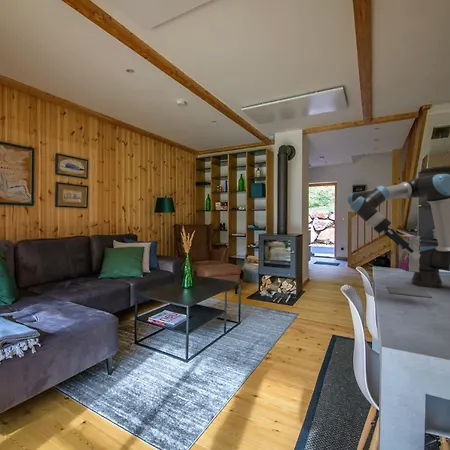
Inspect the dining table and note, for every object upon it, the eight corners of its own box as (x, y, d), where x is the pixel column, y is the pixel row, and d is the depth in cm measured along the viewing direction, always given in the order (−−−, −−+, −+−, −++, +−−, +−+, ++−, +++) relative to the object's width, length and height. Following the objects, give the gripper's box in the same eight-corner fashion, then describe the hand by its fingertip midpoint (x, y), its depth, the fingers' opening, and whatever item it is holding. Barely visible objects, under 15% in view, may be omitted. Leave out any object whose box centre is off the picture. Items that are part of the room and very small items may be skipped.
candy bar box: (397, 268, 138) (398, 234, 138) (408, 268, 137) (409, 235, 137) (407, 272, 127) (408, 235, 127) (420, 272, 126) (420, 236, 126)
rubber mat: (424, 291, 151) (424, 290, 151) (432, 298, 137) (432, 297, 137) (386, 287, 159) (386, 286, 159) (389, 293, 144) (389, 292, 144)
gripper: (370, 227, 149) (404, 258, 143) (374, 228, 127) (413, 264, 121) (382, 217, 147) (416, 248, 140) (388, 216, 125) (428, 253, 119)
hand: (415, 256), depth 131 cm, fingers closed on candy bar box, 12 cm apart
